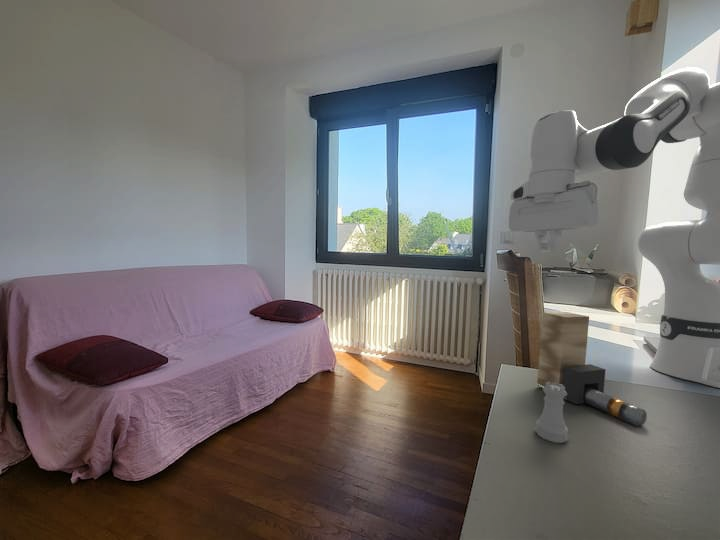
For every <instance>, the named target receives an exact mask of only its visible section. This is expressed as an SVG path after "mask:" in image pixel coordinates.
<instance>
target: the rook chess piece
mask: <svg viewBox="0 0 720 540" xmlns="http://www.w3.org/2000/svg"><path fill="white" fill-rule="evenodd" d="M542 390H543V392H544V394H545V396H544V397H543V401H544V406H543V410H542V413H541V415H540V416H539V419H537V420H536V422H535V424H536V425H535V426H536V427H535V433H536V434H537V436H538V437H539V438H542V439H543V440H544V441H547V442H550V443H554V444H564V443H565V442H567V441H568V440H569V435H568V433H569V431H568V430H569V429H568V426H566V422H565V419H564V412H563V411H564V410H563V409H564V405H565V401H564V400H565V399H564V397H565V396H566V395H567V392H566V391H565V386H563V385H562V384H559V386H556V383H555V382H553V385H551V382H547V383H546V386H545V387H544V388H542Z"/></svg>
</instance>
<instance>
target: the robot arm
mask: <svg viewBox="0 0 720 540" xmlns="http://www.w3.org/2000/svg"><path fill="white" fill-rule="evenodd" d="M707 73H708V72H706V71H705V70H703V69H701V68H698V67H694V66H693V67H684V68H681V69H677V70H675V71H672V72H669V73H668V74H665V75H663V76H661V77H660V78H657V79H656V80H654V81H652V82H651V83H649V84H647V85H646V86H645V87H643V88H642V89H641V90H639V91H638V92H636V94H634V95H633V97H632V98H630V100H629V101H628V102H627V104H626V105H625V109H624V116H622V117H619V118H618V119H615V120H613V121H611V122H609V123H606V124H604V125H601V126H598V127H596V128H593V129H591V130H588V129H586V128H585V127H584V126H582V125H581V124H580V123H579V121H578V120H577V119H578V118H577V114H576V111H574V110H572V109H571V110H570V109H563V110H557V111H555V112H551V113H548V114H547V115H544V116H543V117H541V118H540V119H538V120H537V121H536V122H535V124H534V128H533V132H532V137H531V143H530V154H529V155H530V161H531V167H530V170H529V171H530V172H529V174H528V180H527V181H526V182H524V183H523V184H522V185H520V186H519V187H518V188H516V189H514V190H513V191H511V193H510V200H511V201H512V203H511V205H510V207H509V214H508V215H509V216H508V229H509V231H511V233H518V234H522V233H534V237H535V239H536V242H537V243H538V251H539V252H555V251H556V247H557V245H556V244H557V243H558V241H559V240H560V238H561V237H562V231H566V230H580V229H581V230H582V229H583V230H585V229H593V228H595V227H596V226H597V225H598V223H599V204H598V198H597V197H598V186H597V184H595V183H594V182H593V181H592V182H591V181H590V180H584V181H582V182H576V179H577V180H578V179H584V178H588V177H592V176H598V175H601V174H605V173H609V172H613V171H620V170H626V169H632V168H637V167H639V166H641V165H643V164H644V163H645V162H646V161H647V160H648V158H649V157H650V156H651V155H652V153H653V151H654V150H655V148H656V147H657V145H658V144H659V142H660V141H662V142H664V143H666V144H675V143H683V142H685V141H687V140H691V139H696V138H699V141H700V144H699V146H698V147H697V149H696V151H695V154H694V157H693V159H692V161H691V162H692V163H691V164H690V168H689V172H688V175H687V176H688V177H687V178H686V179H687V180H686V183H685V187H684V190H683V198H684V200H685V202H686V203H687V204H688V205H690V206H692V207H693V208H696V209H699V210H702V211H705V212H706V216H705V218H704V219H699V220H698V219H697V220H696V219H695V220H678V221H677V220H676V221H675V220H674V221H666V222H661V223H656V224H651V225H649V226H646V228H644V229H643V230H642V231H641V233H640V235H639V237H638V241H637V245H638V246H637V248H638V251H639V252H640V254H641V256H643V257H644V258H645V259H646V260H648V261H649V262H650V263H651V264H653V265H654V266H655V268H656V270H657V271H658V273H659V274H660V276H661V279H662V281H663V285H664V286H663V287H664V308H663V309H664V310H663V314H662V315H661V318H660V322H659V323H660V324H659V335H660V337H659V342H658V346H657V349H656V353H655V355H654V357H653V360H652V362H651V363H650V366H649V367H650V368H651V369H653V370H655V371H657V372H659V373H663V374H665V375H668V376H670V377H675V378H678V379H682V380H686V381H691V382H695V383H699V384H702V385H706V386H710V387H714V388H719V389H720V283H718V282H717V281H714V280H712V279H710V278H707V277H706V276H705V275H704V274H703V273H702V271H701V265H713V266H714V265H715V266H717V265H719V266H720V82H717V83H713V84H712V85H710V84H711V81H710V77H709V75H708V74H707ZM548 235H549V238H548V240H547V239H546V237H547V236H548Z"/></svg>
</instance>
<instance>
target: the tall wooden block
mask: <svg viewBox="0 0 720 540" xmlns="http://www.w3.org/2000/svg"><path fill="white" fill-rule="evenodd" d="M541 321H542V322H541V331H540V332H541V333H540V342H539V344H540V345H539V353H538V354H539V356H538V368H537V369H538V370H537V380H536V384H537V383H538V384H540V385H542V386H544V387H545V386H546V383H547V382H551V385H553V382H555V383H556V386H559V384H562V385H563V382H564V370H565V366H576V365H586V359H587V358H586V356H587V346H588V335H589V323H590V316H589V315H583V314H579V313H573V312H570V311H551V312H550V311H546V312H545V311H544V312H542V319H541Z"/></svg>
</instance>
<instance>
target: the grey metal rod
mask: <svg viewBox="0 0 720 540" xmlns="http://www.w3.org/2000/svg"><path fill="white" fill-rule="evenodd" d="M583 401H584V402H583V403H585V402H586V403H585V404H587V403H588V404H587V405H589V404H590V405H589V406H591V405H592V406H591V407H593V406H594V408H596V409H598V410H601V412H604V413H606V414H609V415H610V416H614V417H616V418H617V419H620V420H623V421H624V422H626V423H629V424H631V425H634V426H636V427H637V428H640V427H642V426H643V425H644V424H646V421H647V412H646V410H645V409H643V408H641V407H638V406H636V405H633V404H631V403H628V402H626V401H624V400H621V399H619V398H617V397H613V396H612V395H610V394H607V393H605V392H603V393H602V392H599V391H597V390H594V389H592V388H589V387H587V386H584V395H583Z"/></svg>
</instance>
